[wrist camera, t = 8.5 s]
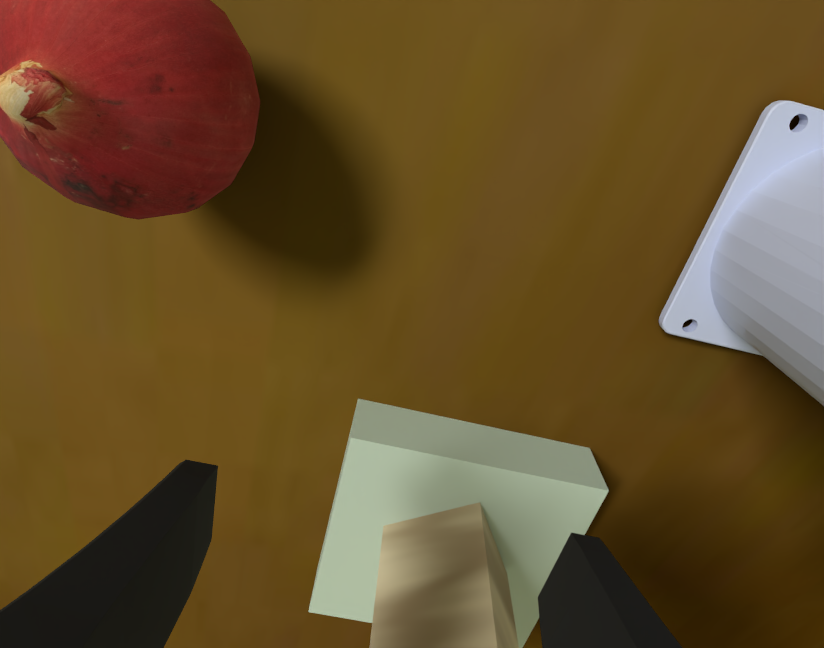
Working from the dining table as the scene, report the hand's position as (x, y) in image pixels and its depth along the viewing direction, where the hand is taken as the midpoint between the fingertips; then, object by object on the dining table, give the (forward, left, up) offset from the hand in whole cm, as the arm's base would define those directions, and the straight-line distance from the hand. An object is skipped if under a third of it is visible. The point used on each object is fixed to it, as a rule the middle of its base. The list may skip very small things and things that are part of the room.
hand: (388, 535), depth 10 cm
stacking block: (-4, +9, -10) cm, 14 cm away
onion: (+8, -6, -10) cm, 14 cm away
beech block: (-4, +8, -7) cm, 12 cm away
